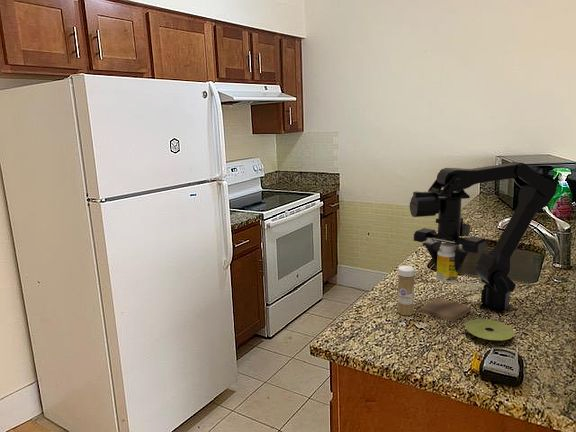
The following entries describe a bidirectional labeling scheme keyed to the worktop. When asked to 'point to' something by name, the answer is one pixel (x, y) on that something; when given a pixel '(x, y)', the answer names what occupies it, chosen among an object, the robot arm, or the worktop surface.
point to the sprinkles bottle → (405, 290)
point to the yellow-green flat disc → (489, 329)
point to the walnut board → (445, 309)
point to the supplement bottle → (446, 263)
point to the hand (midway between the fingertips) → (447, 269)
